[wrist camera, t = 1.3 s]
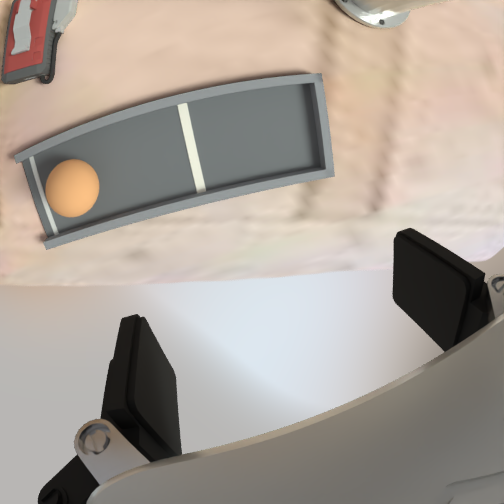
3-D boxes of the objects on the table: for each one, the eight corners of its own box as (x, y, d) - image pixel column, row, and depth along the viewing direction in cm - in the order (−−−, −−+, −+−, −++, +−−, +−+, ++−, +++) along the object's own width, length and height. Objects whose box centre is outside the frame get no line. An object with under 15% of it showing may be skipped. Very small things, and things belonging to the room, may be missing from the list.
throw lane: (21, 152, 26) (13, 155, 25) (314, 74, 30) (321, 73, 28) (51, 243, 32) (46, 249, 30) (327, 173, 35) (334, 176, 34)
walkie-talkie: (71, 80, 25) (95, -59, 16) (56, 77, 21) (86, -74, 13) (10, 94, 23) (33, -41, 15) (-9, 95, 19) (20, -52, 11)
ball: (52, 165, 28) (28, 177, 23) (97, 147, 28) (79, 155, 23) (67, 213, 31) (48, 232, 25) (112, 198, 31) (97, 216, 26)
